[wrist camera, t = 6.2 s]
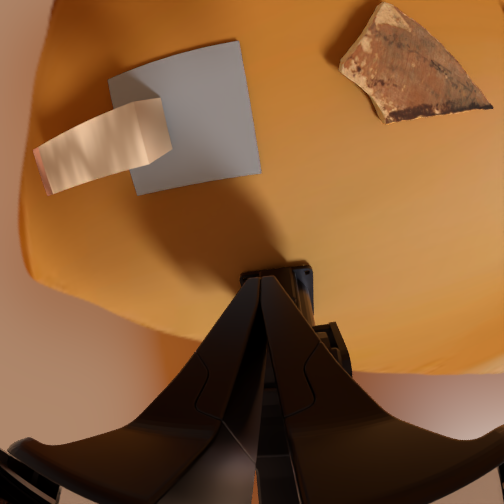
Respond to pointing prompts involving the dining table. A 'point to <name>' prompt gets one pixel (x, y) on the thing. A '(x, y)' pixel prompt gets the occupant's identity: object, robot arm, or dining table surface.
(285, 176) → the dining table surface
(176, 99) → the mat
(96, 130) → the block
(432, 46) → the shard
